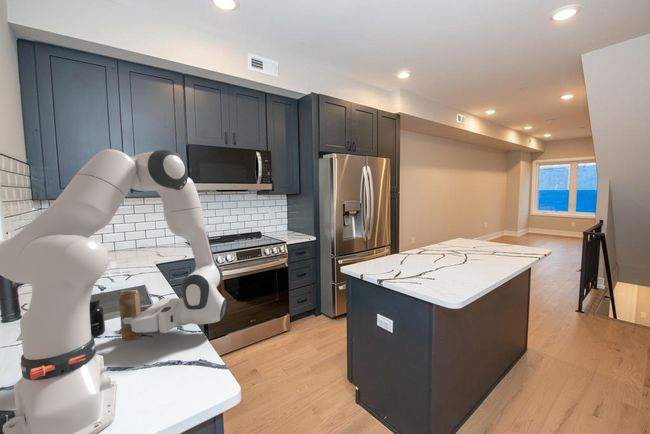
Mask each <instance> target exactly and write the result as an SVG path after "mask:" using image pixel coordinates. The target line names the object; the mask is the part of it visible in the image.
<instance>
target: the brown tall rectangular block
mask: <svg viewBox="0 0 650 434" xmlns="http://www.w3.org/2000/svg"><path fill="white" fill-rule="evenodd" d="M119 293H120V294H119V295H118V303H119V314H120V315H119V317H120V329H122V333H121V338H122V339H121V340H122V341H125V340H139V339H140V338H141V337H142V336H143V332H133V331H132V328H131V324H124V323H123V319H124V318H126V317H130V316H131V317H132V318H135V317H137V316H138V315H140V314H141V311H140V307H141V300H140V292H139V291H138V290H137V289H136V290H133V289H132V290H121V291H120V292H119Z"/></svg>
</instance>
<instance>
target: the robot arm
mask: <svg viewBox="0 0 650 434" xmlns="http://www.w3.org/2000/svg"><path fill="white" fill-rule="evenodd" d="M152 191H154V192H155V191H156V193H158V195H159V197H160V199H161V201H162V209H163V214H164V218H165V222H166V224H167V226H168V229H169V231H170V232H171V233H172V234H174V235H176V236H177V237H180V238H183V239H185V240H186V241H187V242H188V244H189V245H190V249H191V251H192V255H193V259H194V262H195V268H194V270H193V272H191V273H189V275H188V276H186V277H185V278H184V279H183V281H182V282H181V284H180V285H181V286H180V291H181V292H180V294H181V296H182V297H180V298H179V297H164V298H161V299H159V300H158V301H157V302H155V303H151V304H145V305H142V306H140V311H141V312H143V313H141V314H140V315H138V316H137V317H135V318H132V317H131V316H130V317H126V318H124V319H123V323H124V324H131V328H132V331H133V332H142V333H156V332H159V333H167V332H169V331H170V330H172V329H175V328H178V327H180V326H187V325H191V324H193V325H207V324H213V323H217V322H220V321H221V319H222V318H223V317H224V315H225V312H226V309H227V299H226V298H225V297H223V295H222V294H221V293H220V292H219V290H218V287H219V286H221V284H222V282H223V278H224V277H223V276H224V275H223V271H222V269H221V268H220V266H219V265H218V263H217V262H216V260H215V257H214V254H213V250H212V246H211V242H210V239H209V236H208V231H207V228H206V223H205V218H204V212H203V208H202V203H201V200H200V196H199V193H198V189H197V188H196V185H195V183H194V180H193V179H192V178H190V177H189V172H188V168H187V165H186V163H185V161H184V159H183V158H182V156H181V155H180V154H179V153H177V152H176V151H173V150H169V149H158V150H155V151H148V152H141V153H139V154H135V155H133V156H132V155H131V156H129V155H128V154H127V153H125V152H122V151H121V150H117V149H113V148H106V149H102V150H100V151H99V152H97V153H95V155H93V156H92V157H91V158H90V159H89V160H88V161H87V162H86V163H85V164H84V165H83V166H82V167H81V168H80V169H79V170H78V171H77V172H76V174H75V175H74V177H73V178H72V179H71V180H70V182H69V183H68V184H67V186H66V187H65V188H64V189H63V191H62V192H61V193H59V196H58V197H57V198H56V199H55V201H54V202H52V203H51V204H50V205H49V207H47V208H46V209H45V210H44V211H43V212H42V213H41V214H39V215H38V216H37V217H36V218H34V219H33V220H32V221H31V222H30V223H29V224H27V225H26V226H25V227H24V228H23V229H22V230H21V231H19V232H18V233H16V234H15V235H13V236H12V237H10V238H8V239H6V240H5V241H3V242H1V243H0V276H1V277H3V278H5V279H6V280H9V281H10V282H14V283H17V284H25V285H31V288H32V292H31V293H32V294H31V298H30V303H29V306H28V309H27V311H25V313H24V314H22V316H21V317H20V321H19V327H20V336H21V344H22V353H23V354H22V355H21V356H20V369H21V374H22V377H21V378H20V379H19V380H18V381H17V382H15V384H13V392H14V395H13V396H14V401H15V402H14V405H15V410H13V413H12V415H13V416H12V418H10V419H9V420H8V421H6V422H5V423H4V424H3V425H2V433H3V434H98V433H99V432H101V431H102V430H105V428H106V427H108V426H109V425H111V424H112V423H113V422H114V419H115V411H116V400H117V389H118V384H117V381H114V380H112V381H111V377H106V376H105V375H106V373H107V372H108V366H107V365H104V364H105V363H104V356H103V355H101V354H98V353H96V352H97V351H96V341H95V337H93V336H92V335H91V325H90V299H92V293H93V290H94V287H95V285H96V283H97V282H98V280H99V279H100V278H101V277H103V275H104V274H105V273H106V272H107V269H108V266H109V264H110V263H109V262H110V255H109V252H108V250H107V248H106V247H105V245H103V244H102V243H101V242H100V241H97V240H95V239H92V238H90V237H92V236H93V235H94V234H95V233H97V232H98V231H101V230H103V229H104V228H106V227H107V226H108V225H109V224H110V222H111V221H112V219H113V218H114V216H115V214H116V213H117V212H118V210H119V208H120V206H121V205H122V204H123V202H124V200H125V199H126V198H127V196H128V194H129V192H134V193H143V192H152ZM158 330H159V331H158Z"/></svg>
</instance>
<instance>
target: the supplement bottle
mask: <svg viewBox="0 0 650 434" xmlns="http://www.w3.org/2000/svg"><path fill="white" fill-rule="evenodd" d="M100 300H101V299H100V298H91V299H90V325H91V335H92V336H93V337H94V338H97V337H99V336H101V335H103V334H104V333H105V332H106V322H105V309H104V307H103V306H102V305H101V301H100Z"/></svg>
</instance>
